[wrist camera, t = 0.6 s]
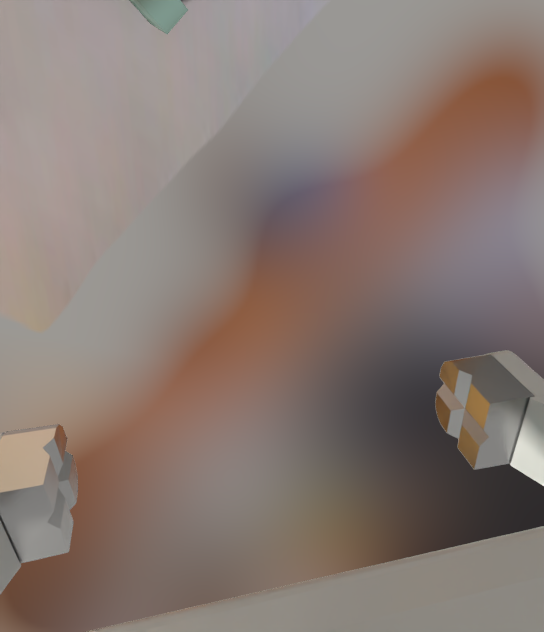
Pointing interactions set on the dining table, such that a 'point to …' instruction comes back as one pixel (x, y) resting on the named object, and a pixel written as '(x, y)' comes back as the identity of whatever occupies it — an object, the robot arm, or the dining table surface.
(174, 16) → the rail track
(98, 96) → the dining table surface
